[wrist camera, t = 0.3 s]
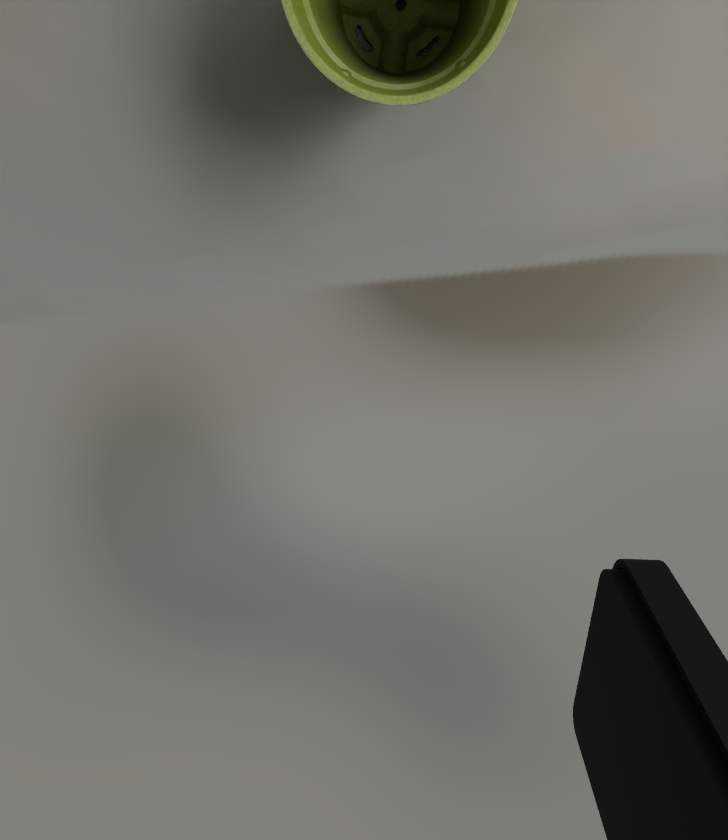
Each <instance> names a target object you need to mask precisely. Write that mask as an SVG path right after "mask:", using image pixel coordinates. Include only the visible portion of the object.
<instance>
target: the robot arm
mask: <svg viewBox="0 0 728 840" xmlns="http://www.w3.org/2000/svg"><path fill="white" fill-rule="evenodd" d="M573 722H574V729H575V733H576V736H577V740H578V743H579V747H580V750H581V753H582V757H583V760H584V763H585V767H586V770H587V773H588V777H589V780H590V783H591V787H592V790H593V793H594V797H595V800H596V803H597V807H598V810H599V813H600V817H601V820H602V823H603V827H604V830H605V833H606V837H607V840H728V661H727V660H726V658H725V656H724V655H723V654H722V652H721V650H720V649H719V647H718V646H717V644H716V642H715V641H714V639H713V637H712V636H711V635H710V633H709V631H708V630H707V628H706V626H705V625H704V623H703V622H702V620H701V618H700V617H699V615H698V614H697V612H696V611H695V609H694V608H693V606H692V604H691V603H690V601H689V599H688V598H687V596H686V595H685V593H684V592H683V590H682V588H681V587H680V585H679V584H678V582H677V580H676V579H675V577H674V576H673V574H672V573H671V571H670V569H669V568H668V566H667V565H666V564H665V563H664V562H663V561H660V560H639V559H619V560H617V561H616V562H615V564H614V566H613V569H605V570H603V571H602V572H601V574H600V578H599V582H598V587H597V592H596V597H595V602H594V607H593V612H592V617H591V622H590V627H589V631H588V637H587V641H586V646H585V651H584V656H583V662H582V666H581V671H580V676H579V681H578V685H577V690H576V695H575V700H574V706H573Z"/></svg>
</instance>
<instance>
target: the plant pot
mask: <svg viewBox="0 0 728 840" xmlns="http://www.w3.org/2000/svg"><path fill="white" fill-rule="evenodd" d="M397 1H398V0H281V2H282V6H283V9H284V12H285V15H286V18H287V21H288V23H289V26H290V28H291V30H292V32H293V34H294V36H295V38H296V40H297V42H298V44H299V45H300V47H301V48H302V50H303V51H304V53H305V54H306V56H307V57H308V58H309V59H310V61H311V62H312V63H313V64H314V66H315V67H316V68H317V69H318V70H319V71H320V72H321V73H322V74H323V75H324V76H326V77H327V78H328V79H329V80H330V81H332V82H333V83H334V84H336V85H337V86H338V87H340V88H341V89H343V90H344V91H346V92H348V93H350V94H352V95H354V96H356V97H358V98H361V99H363V100H366V101H370V102H373V103H377V104H383V105H392V106H404V105H414V104H419V103H423V102H427V101H430V100H433V99H436V98H438V97H440V96H442V95H445V94H447V93H448V92H450V91H452V90H454V89H455V88H457V87H458V86H460V85H461V84H462V83H464V82H465V81H466V80H468V79H469V78H470V77H471V76H472V75H473V74H474V73H475V72H476V71H477V70H478V69H479V68H480V67H481V66H482V65H483V64H484V63H485V62H486V60H487V59H488V58H489V57H490V55H491V54H492V53H493V51H494V50H495V48H496V47H497V45H498V44H499V42H500V40H501V39H502V37H503V35H504V33H505V31H506V29H507V27H508V25H509V23H510V20H511V18H512V15H513V13H514V10H515V7H516V4H517V1H518V0H404V1H405V3H406V6H405V8H404V9H403V10H402V11H398V10H397V9H396V2H397ZM357 26H360V27H361V29H362V31H363V33H364V36H365V37H366V39H367V40H368V41H369V43H370V44H372V46H373V47H374V51H373V52H369V51H367V50H365V49H364V47H363V45H362V43H361V42H360V41H359V39H358V37H357V35H356V27H357ZM436 36H437V37H438V44H437V45H436V46H435V47H434V49H432V50H431V51H430V52H429V53H428V54H427V55H426V56H424V57H423V58H421V57H420V58H418V57H417V55H416V54H417V53H418V52H419V51H421V50H422V49H423V48H425V47H426V46H427V45H428V44H429V43H430V42H431V41H432V40H433V39H434V38H435V37H436Z"/></svg>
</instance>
